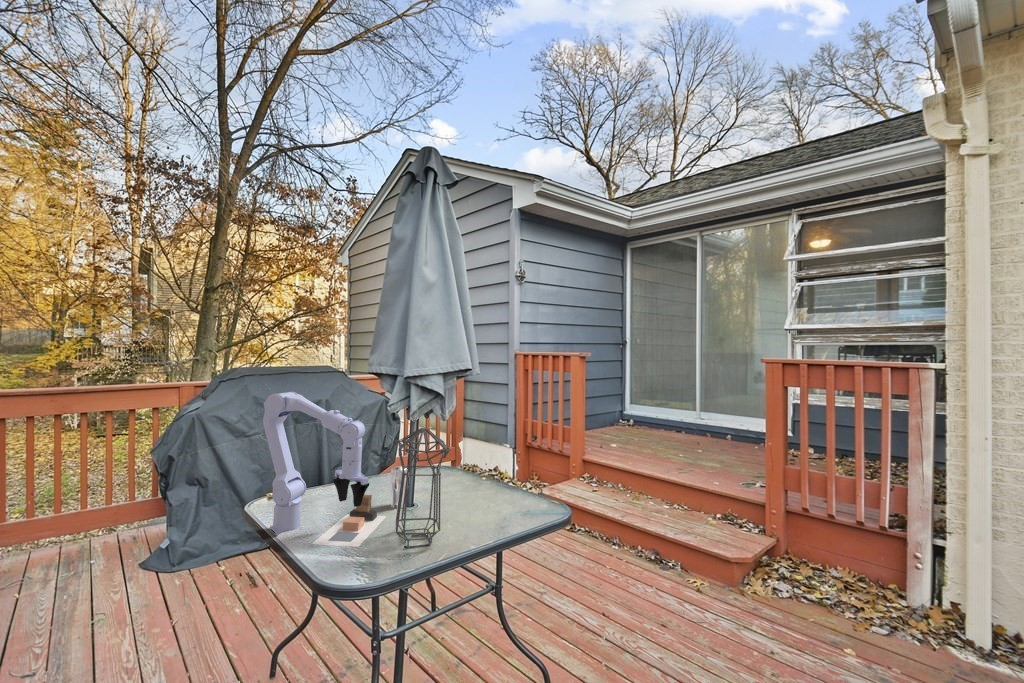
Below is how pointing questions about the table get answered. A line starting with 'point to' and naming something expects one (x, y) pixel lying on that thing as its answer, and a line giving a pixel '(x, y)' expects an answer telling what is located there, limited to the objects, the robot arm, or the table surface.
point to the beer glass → (396, 485)
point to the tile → (353, 523)
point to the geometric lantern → (437, 441)
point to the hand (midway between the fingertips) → (350, 503)
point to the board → (348, 533)
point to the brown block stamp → (365, 509)
